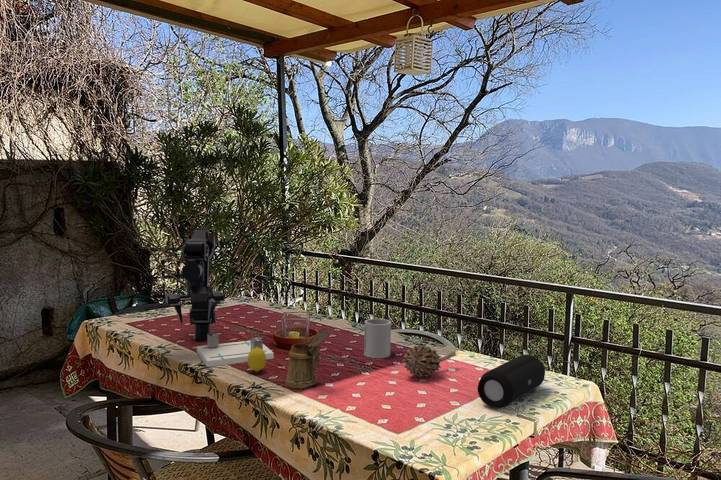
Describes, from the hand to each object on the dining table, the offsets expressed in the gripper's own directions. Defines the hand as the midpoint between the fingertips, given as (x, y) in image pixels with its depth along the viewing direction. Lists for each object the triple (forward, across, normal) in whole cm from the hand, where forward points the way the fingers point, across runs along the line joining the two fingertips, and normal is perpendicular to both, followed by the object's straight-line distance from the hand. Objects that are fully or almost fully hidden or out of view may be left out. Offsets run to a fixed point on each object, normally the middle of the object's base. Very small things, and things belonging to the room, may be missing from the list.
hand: (195, 322), depth 181 cm
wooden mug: (+13, +24, -43) cm, 50 cm away
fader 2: (+9, +18, -12) cm, 23 cm away
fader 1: (+9, +6, 0) cm, 11 cm away
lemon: (+12, +14, -26) cm, 31 cm away
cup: (+12, +57, -26) cm, 64 cm away
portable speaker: (+13, +73, -75) cm, 105 cm away
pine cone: (+12, +63, -50) cm, 81 cm away
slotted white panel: (+11, +12, -6) cm, 17 cm away
